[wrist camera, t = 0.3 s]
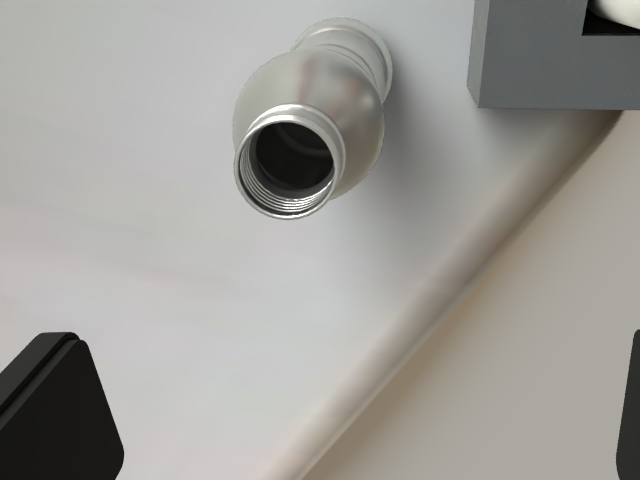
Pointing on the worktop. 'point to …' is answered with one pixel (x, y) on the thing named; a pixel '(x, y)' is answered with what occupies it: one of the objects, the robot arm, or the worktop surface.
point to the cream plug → (617, 11)
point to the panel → (549, 58)
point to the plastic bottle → (312, 119)
